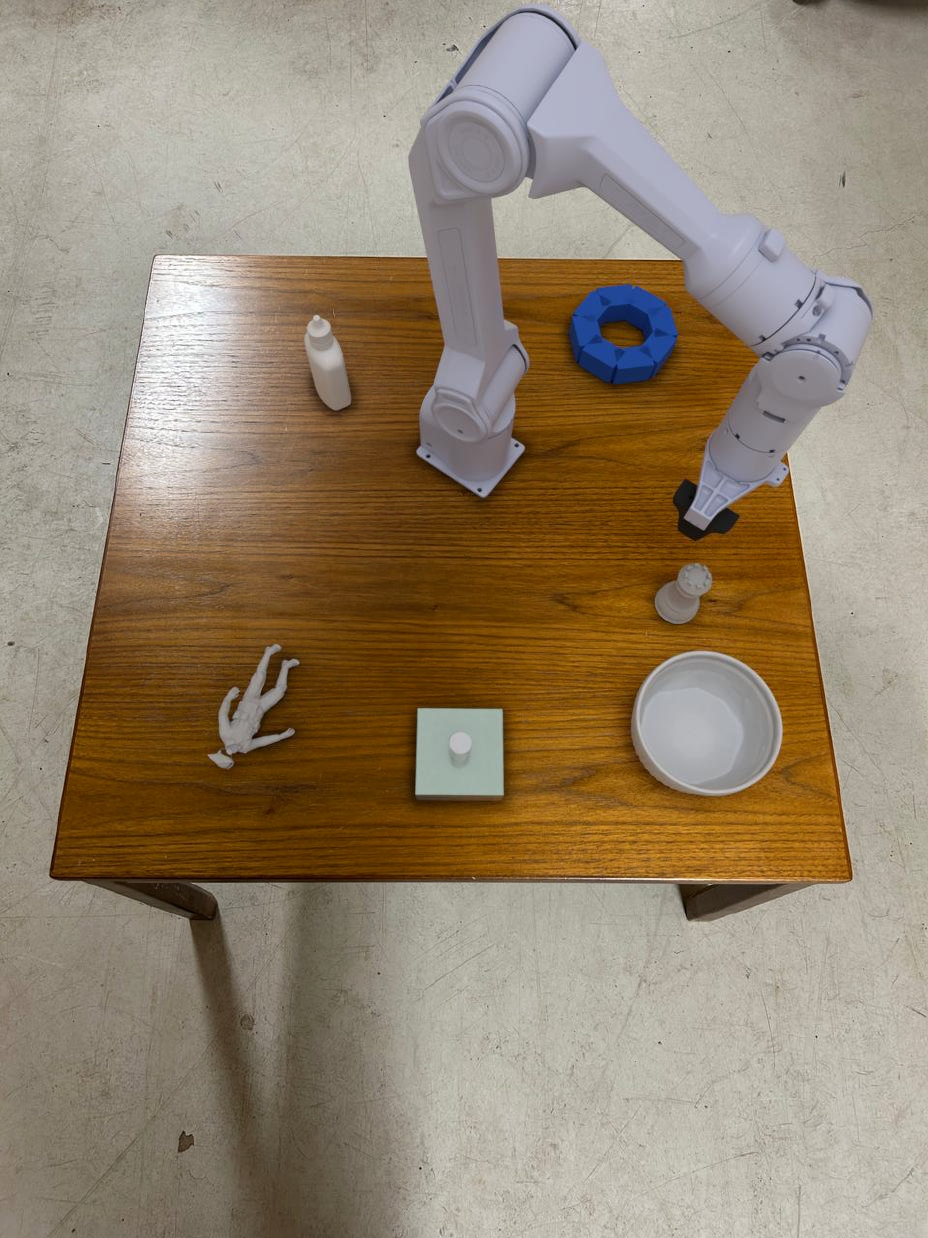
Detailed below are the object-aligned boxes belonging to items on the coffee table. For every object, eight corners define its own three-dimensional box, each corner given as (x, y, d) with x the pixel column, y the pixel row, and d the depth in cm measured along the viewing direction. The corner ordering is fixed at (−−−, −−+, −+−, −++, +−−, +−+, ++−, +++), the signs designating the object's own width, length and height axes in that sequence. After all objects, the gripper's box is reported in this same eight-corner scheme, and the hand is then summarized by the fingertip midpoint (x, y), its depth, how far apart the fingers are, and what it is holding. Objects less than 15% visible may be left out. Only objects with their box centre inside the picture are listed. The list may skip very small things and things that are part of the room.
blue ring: (552, 349, 91) (555, 333, 89) (605, 287, 95) (609, 269, 92) (635, 399, 89) (641, 384, 87) (687, 334, 92) (694, 317, 90)
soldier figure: (322, 678, 78) (276, 783, 71) (292, 687, 81) (245, 789, 74) (266, 631, 74) (211, 738, 67) (236, 643, 77) (180, 746, 70)
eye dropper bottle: (353, 371, 90) (339, 295, 78) (351, 412, 88) (337, 340, 77) (315, 370, 90) (296, 294, 78) (312, 412, 88) (292, 340, 76)
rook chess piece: (694, 629, 80) (719, 601, 72) (650, 620, 80) (672, 592, 73) (698, 589, 81) (723, 558, 74) (656, 581, 82) (677, 549, 74)
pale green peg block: (416, 800, 73) (413, 789, 66) (418, 717, 76) (415, 697, 69) (501, 800, 74) (507, 789, 66) (500, 717, 76) (506, 698, 69)
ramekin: (629, 808, 74) (647, 799, 67) (611, 674, 78) (626, 653, 72) (766, 798, 74) (797, 789, 68) (740, 666, 79) (767, 645, 72)
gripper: (764, 515, 58) (707, 583, 71) (850, 384, 62) (781, 472, 75) (683, 466, 59) (641, 542, 72) (772, 341, 64) (717, 434, 76)
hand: (708, 503), depth 74 cm, fingers open, 7 cm apart
